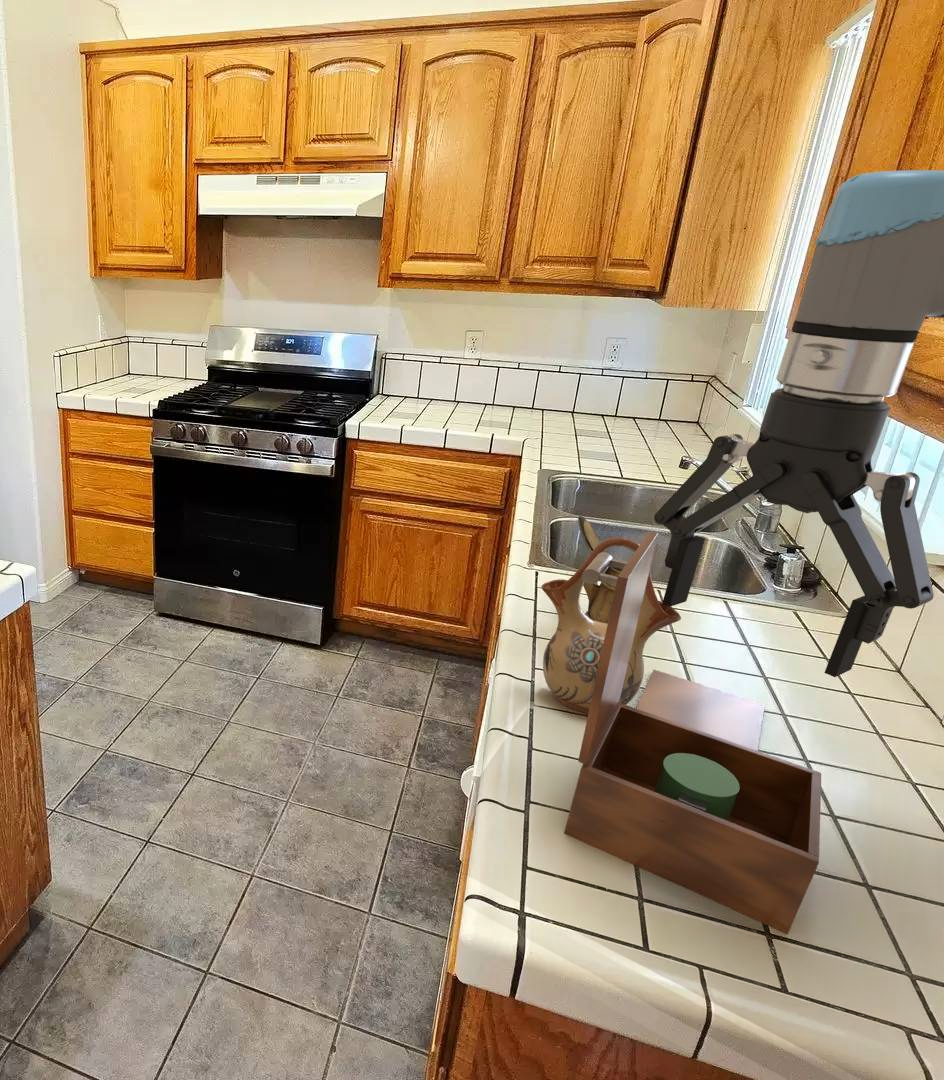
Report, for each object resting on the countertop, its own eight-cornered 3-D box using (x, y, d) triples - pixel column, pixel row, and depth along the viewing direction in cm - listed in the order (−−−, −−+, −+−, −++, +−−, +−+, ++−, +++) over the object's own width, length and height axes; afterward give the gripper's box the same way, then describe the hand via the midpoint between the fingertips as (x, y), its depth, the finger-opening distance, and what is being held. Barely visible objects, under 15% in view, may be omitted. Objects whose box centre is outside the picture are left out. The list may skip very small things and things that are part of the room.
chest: (792, 843, 81) (821, 772, 77) (785, 940, 69) (819, 862, 65) (597, 765, 91) (615, 700, 88) (562, 838, 80) (581, 767, 76)
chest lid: (658, 533, 80) (610, 523, 83) (628, 578, 69) (574, 565, 71) (619, 698, 87) (577, 685, 90) (586, 765, 76) (539, 747, 78)
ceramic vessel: (649, 709, 103) (699, 540, 94) (647, 744, 96) (701, 564, 86) (524, 674, 110) (559, 514, 101) (513, 704, 103) (550, 534, 94)
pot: (722, 825, 82) (744, 764, 79) (711, 878, 74) (735, 814, 71) (652, 797, 85) (671, 738, 82) (635, 845, 78) (655, 783, 75)
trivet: (763, 708, 105) (765, 704, 104) (756, 757, 94) (757, 753, 94) (652, 672, 112) (653, 669, 112) (633, 714, 102) (634, 710, 102)
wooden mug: (562, 604, 133) (584, 508, 126) (647, 627, 126) (675, 527, 119) (549, 622, 126) (572, 522, 120) (639, 648, 119) (668, 543, 113)
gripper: (649, 369, 67) (596, 586, 74) (1030, 433, 47) (902, 720, 55) (698, 365, 70) (642, 573, 78) (1071, 424, 50) (945, 695, 58)
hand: (749, 634), depth 66 cm, fingers open, 13 cm apart
